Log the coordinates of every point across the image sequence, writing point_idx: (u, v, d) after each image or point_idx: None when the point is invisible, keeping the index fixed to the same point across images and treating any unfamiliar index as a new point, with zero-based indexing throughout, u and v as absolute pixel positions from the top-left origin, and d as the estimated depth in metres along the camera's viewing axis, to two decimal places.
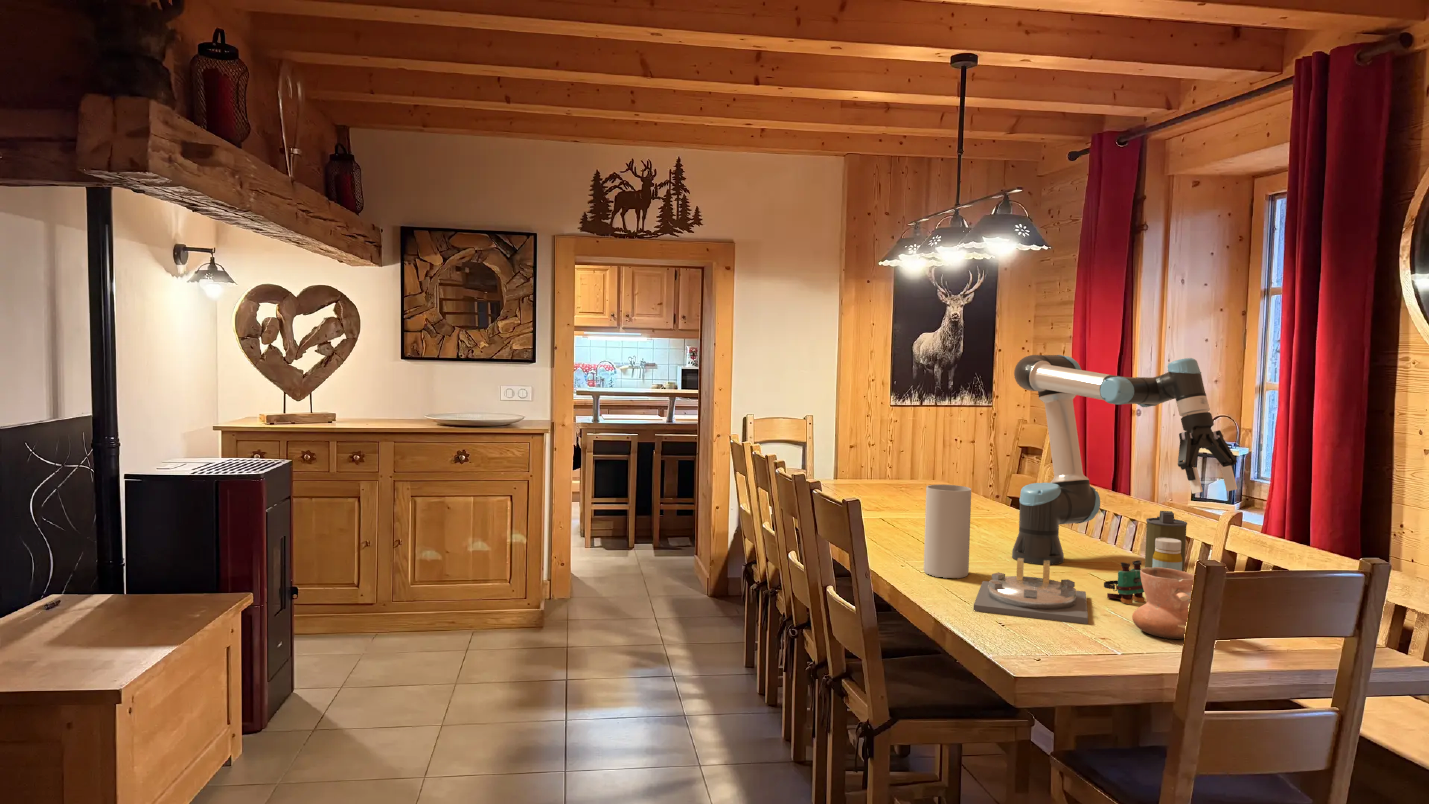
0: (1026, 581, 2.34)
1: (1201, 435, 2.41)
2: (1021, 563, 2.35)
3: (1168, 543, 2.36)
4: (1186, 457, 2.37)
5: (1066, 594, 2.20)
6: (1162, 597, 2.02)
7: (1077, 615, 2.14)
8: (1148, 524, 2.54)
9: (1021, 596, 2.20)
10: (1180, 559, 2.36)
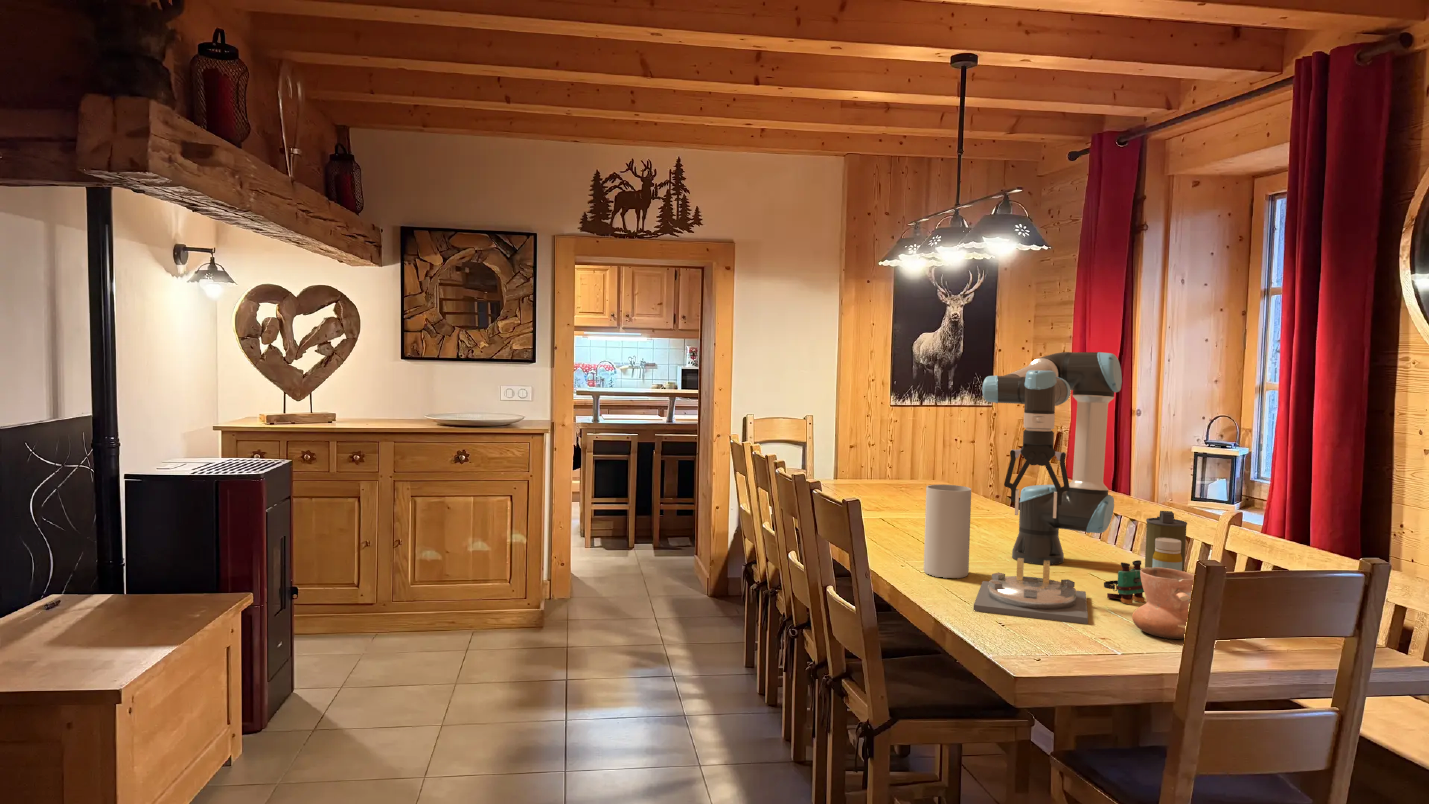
0: (1026, 581, 2.34)
1: (1029, 454, 2.33)
2: (1021, 563, 2.35)
3: (1168, 543, 2.36)
4: (1006, 478, 2.36)
5: (1066, 594, 2.20)
6: (1162, 597, 2.02)
7: (1077, 615, 2.14)
8: (1148, 524, 2.54)
9: (1021, 596, 2.20)
10: (1180, 559, 2.36)
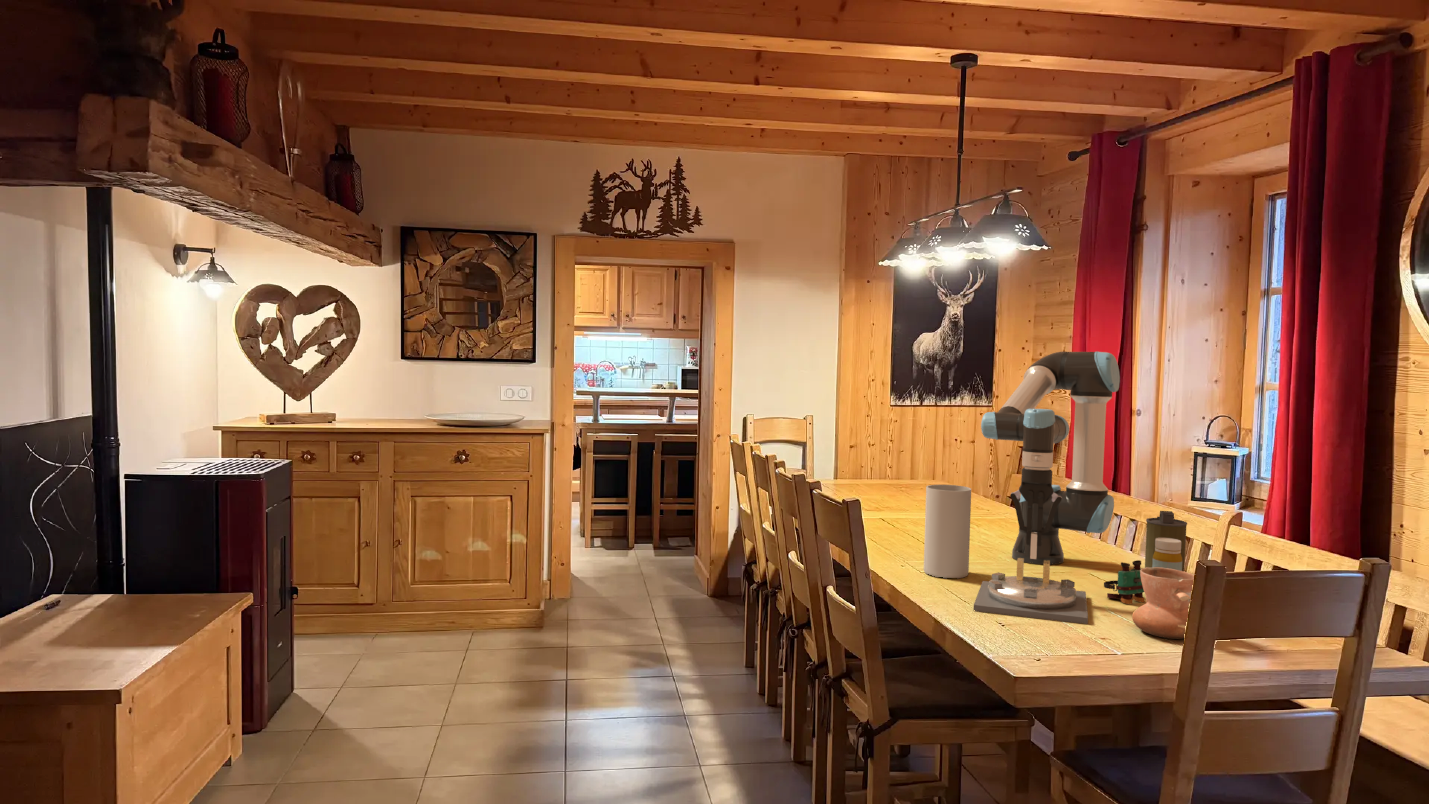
0: (1026, 581, 2.34)
1: (1028, 493, 2.34)
2: (1021, 563, 2.35)
3: (1168, 543, 2.36)
4: (1019, 522, 2.35)
5: (1066, 594, 2.20)
6: (1162, 597, 2.02)
7: (1077, 615, 2.14)
8: (1148, 524, 2.54)
9: (1021, 596, 2.20)
10: (1180, 559, 2.36)
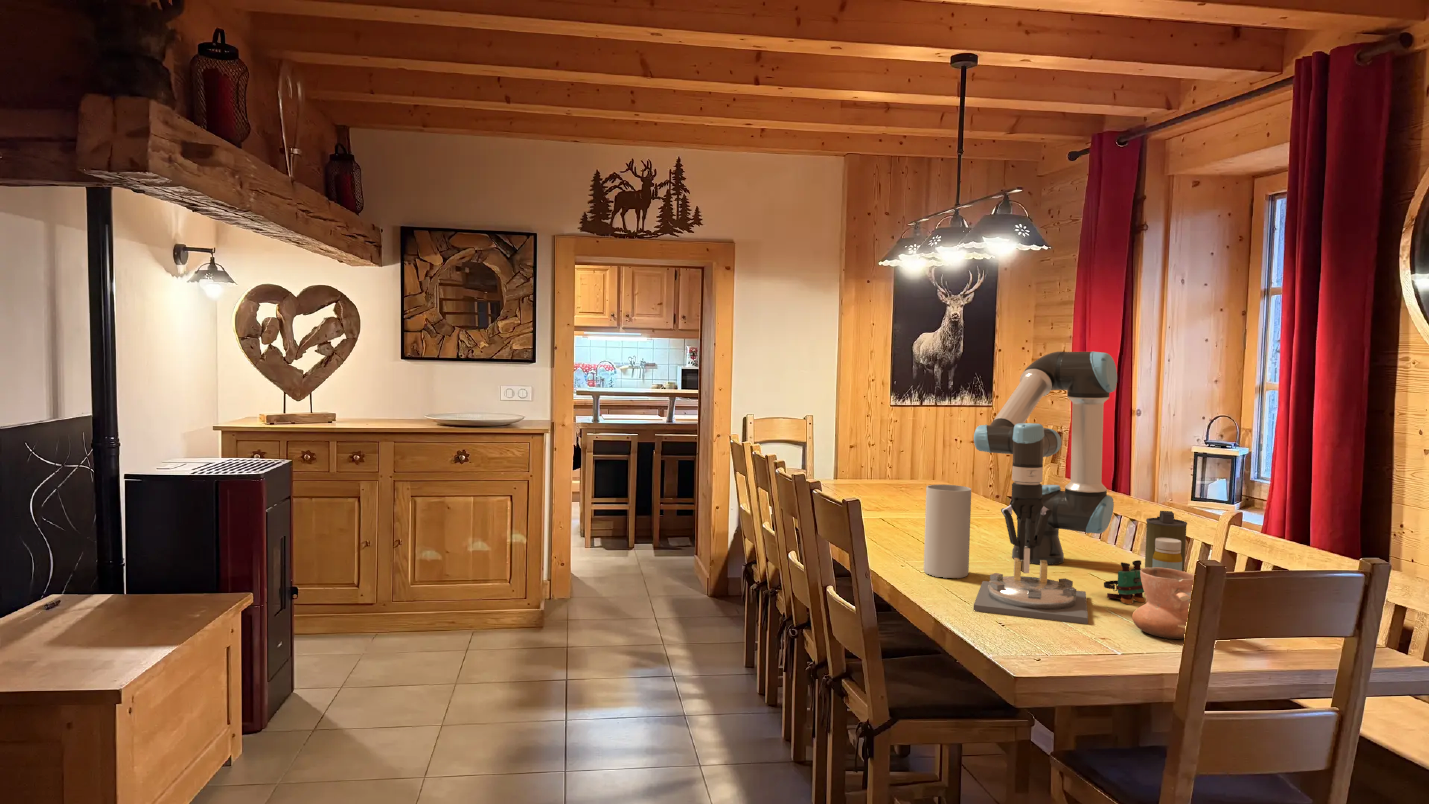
0: (1024, 581, 2.34)
1: (1021, 509, 2.33)
2: (1019, 563, 2.35)
3: (1168, 543, 2.36)
4: (1013, 538, 2.34)
5: (1068, 593, 2.20)
6: (1162, 597, 2.02)
7: (1077, 615, 2.14)
8: (1148, 524, 2.54)
9: (1025, 597, 2.19)
10: (1180, 559, 2.36)
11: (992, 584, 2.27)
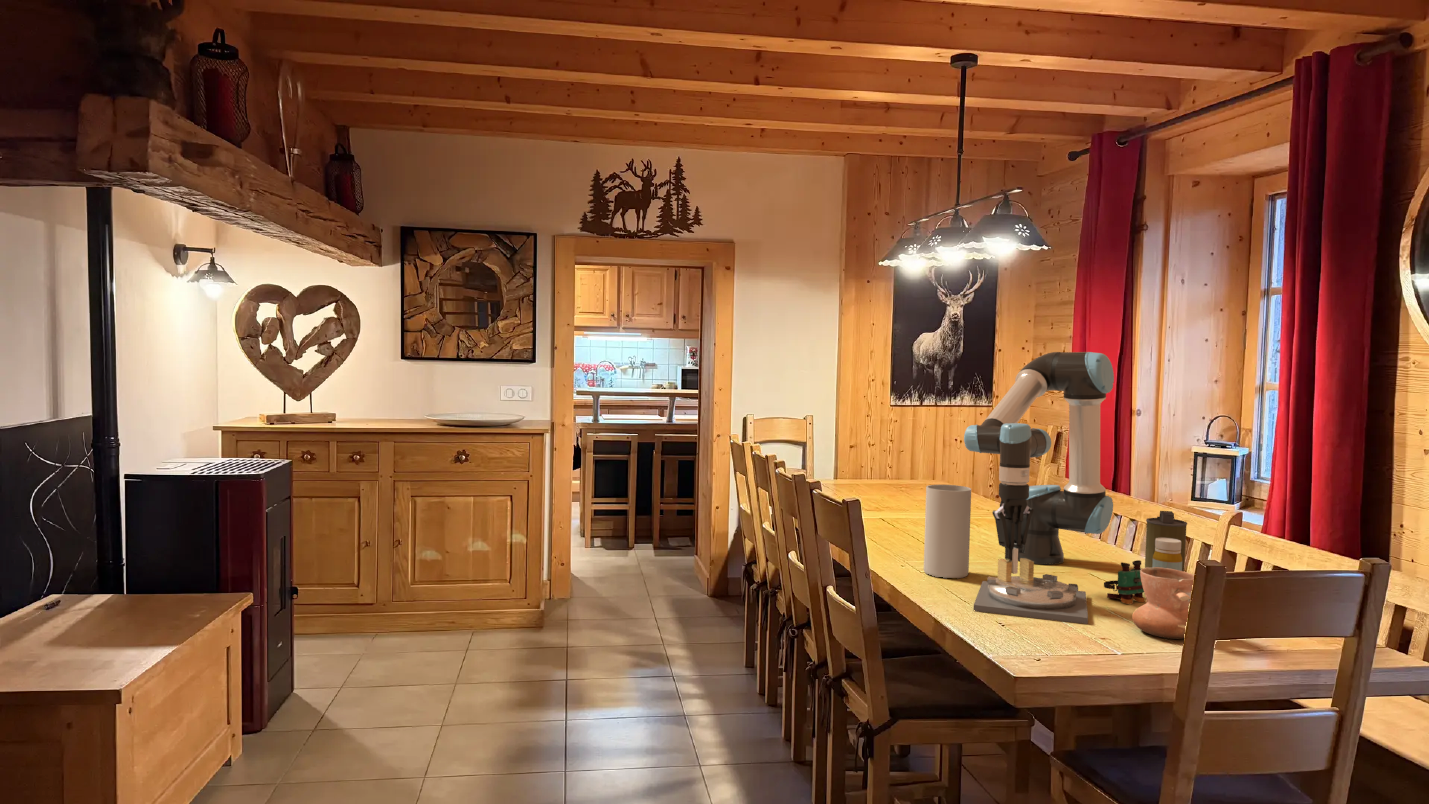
0: (1016, 581, 2.33)
1: (1013, 509, 2.32)
2: (1010, 564, 2.33)
3: (1168, 543, 2.36)
4: (1005, 539, 2.32)
5: (1076, 589, 2.24)
6: (1162, 597, 2.02)
7: (1077, 615, 2.14)
8: (1148, 524, 2.54)
9: (1048, 598, 2.18)
10: (1180, 559, 2.36)
11: (1008, 589, 2.22)
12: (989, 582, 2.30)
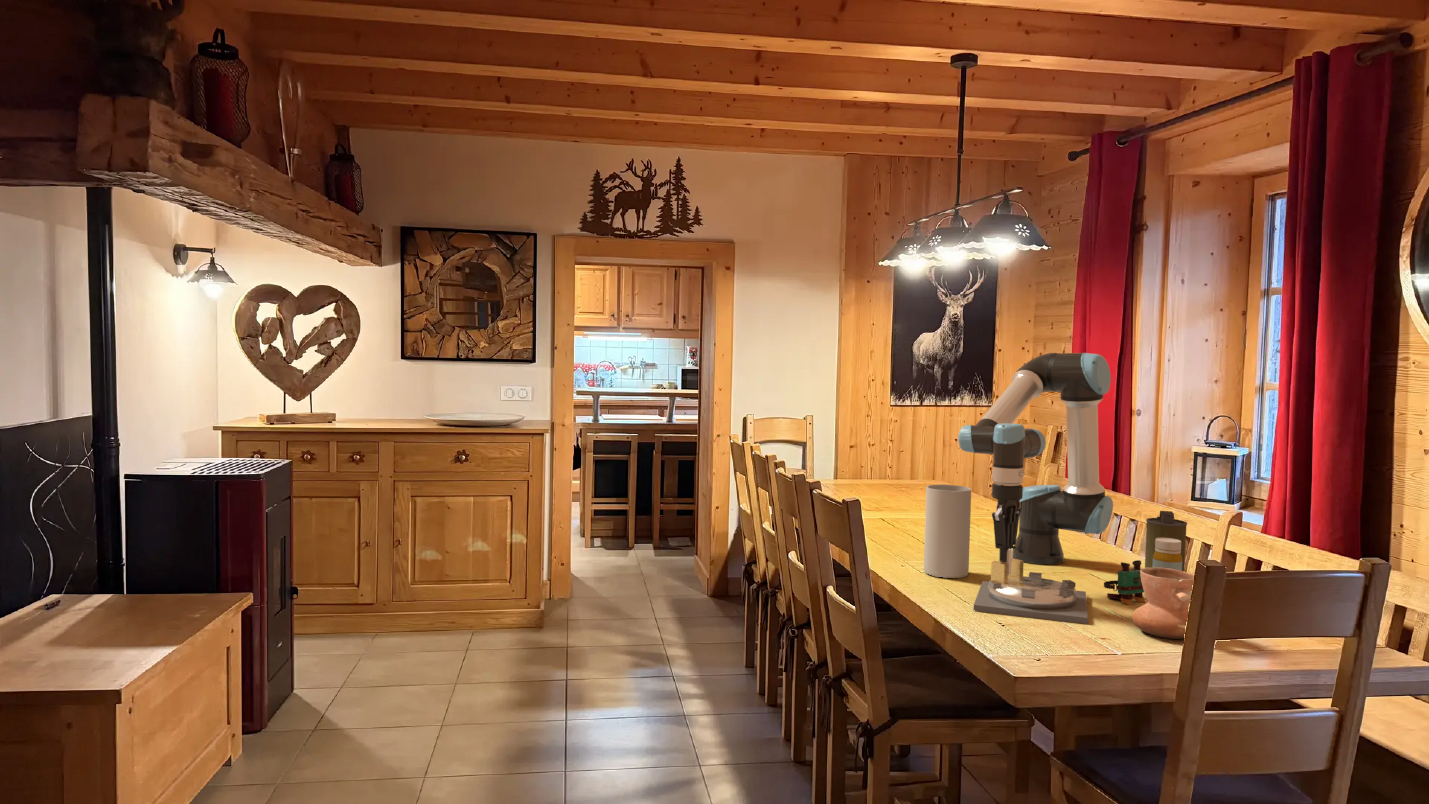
0: (1012, 583, 2.32)
1: (1009, 510, 2.30)
2: (1007, 566, 2.31)
3: (1168, 543, 2.36)
4: (1004, 541, 2.30)
5: (1073, 585, 2.28)
6: (1162, 597, 2.02)
7: (1077, 615, 2.14)
8: (1148, 524, 2.54)
9: (1063, 598, 2.19)
10: (1180, 559, 2.36)
11: (1024, 592, 2.19)
12: (995, 586, 2.26)
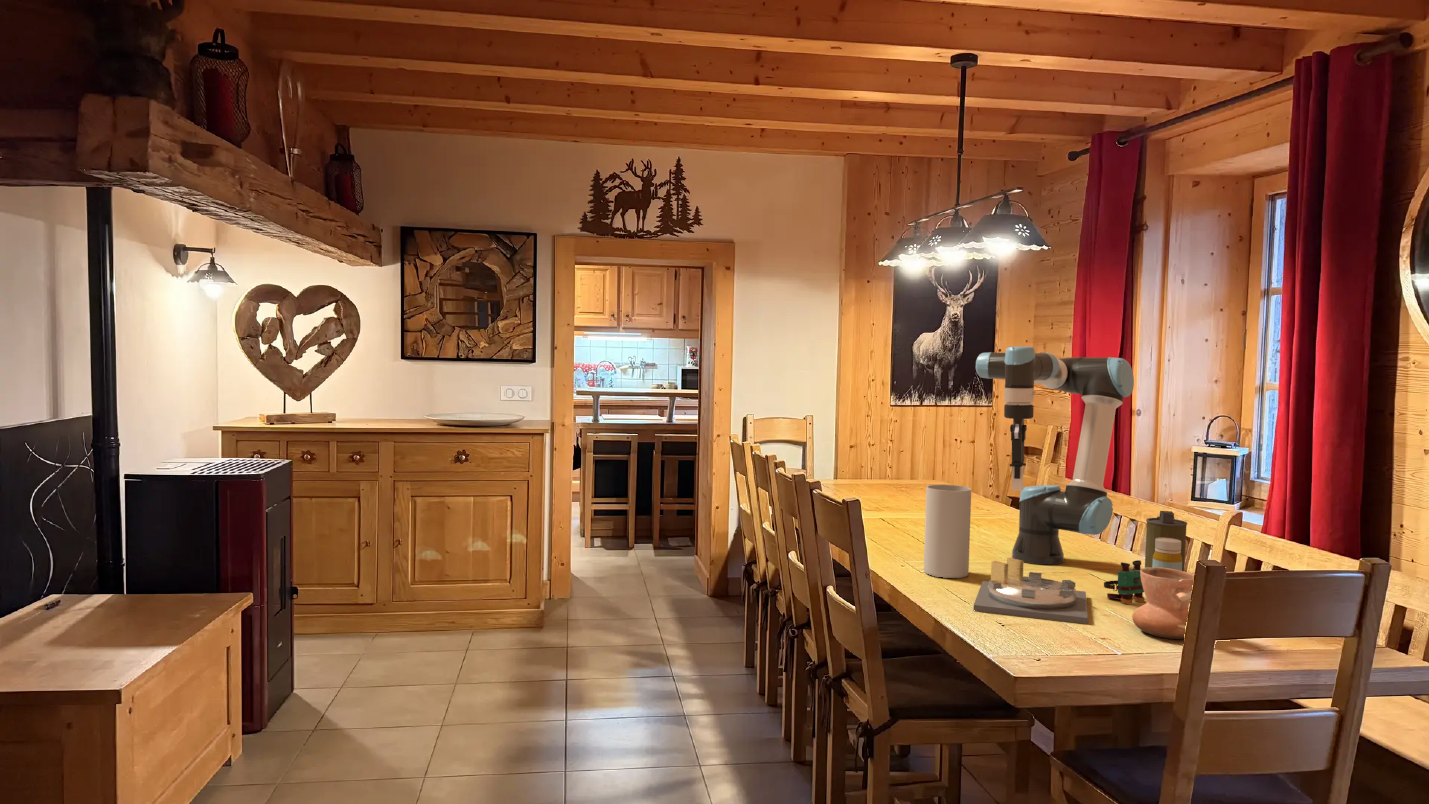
0: (1012, 583, 2.32)
1: (1024, 429, 2.41)
2: (1007, 566, 2.31)
3: (1168, 543, 2.36)
4: (1021, 458, 2.40)
5: (1073, 585, 2.28)
6: (1162, 597, 2.02)
7: (1077, 615, 2.14)
8: (1148, 524, 2.54)
9: (1063, 598, 2.19)
10: (1180, 559, 2.36)
11: (1025, 592, 2.19)
12: (995, 586, 2.26)
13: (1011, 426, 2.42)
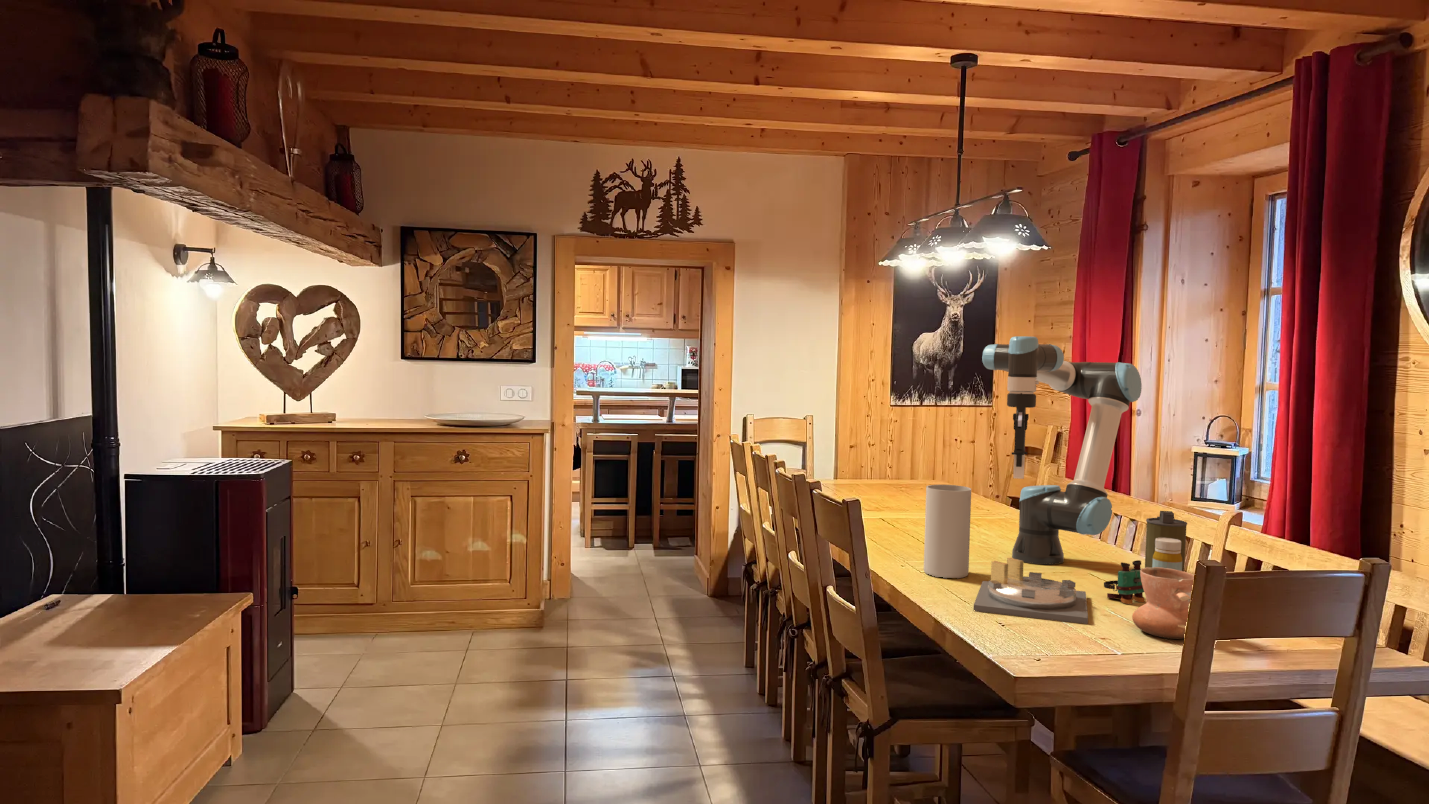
0: (1012, 583, 2.32)
1: (1026, 417, 2.45)
2: (1007, 566, 2.31)
3: (1168, 543, 2.36)
4: (1023, 446, 2.43)
5: (1073, 585, 2.28)
6: (1162, 597, 2.02)
7: (1077, 615, 2.14)
8: (1148, 524, 2.54)
9: (1063, 598, 2.19)
10: (1180, 559, 2.36)
11: (1025, 592, 2.19)
12: (995, 586, 2.26)
13: (1014, 415, 2.46)
